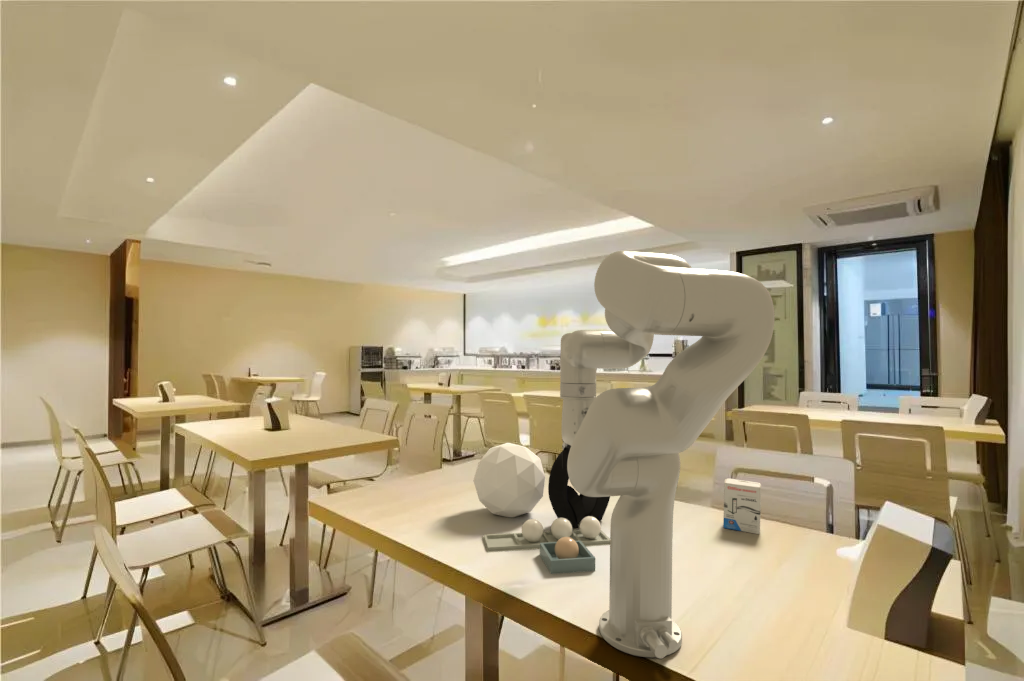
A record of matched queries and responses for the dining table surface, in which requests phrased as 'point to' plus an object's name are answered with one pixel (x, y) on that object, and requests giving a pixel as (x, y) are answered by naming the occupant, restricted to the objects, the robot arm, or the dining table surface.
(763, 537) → the dining table surface
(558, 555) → the brown egg
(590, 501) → the headphones
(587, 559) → the dish
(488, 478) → the polyhedron
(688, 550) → the dining table surface
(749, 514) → the ink box
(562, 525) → the white egg
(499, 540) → the carton
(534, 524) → the white egg
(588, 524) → the white egg
